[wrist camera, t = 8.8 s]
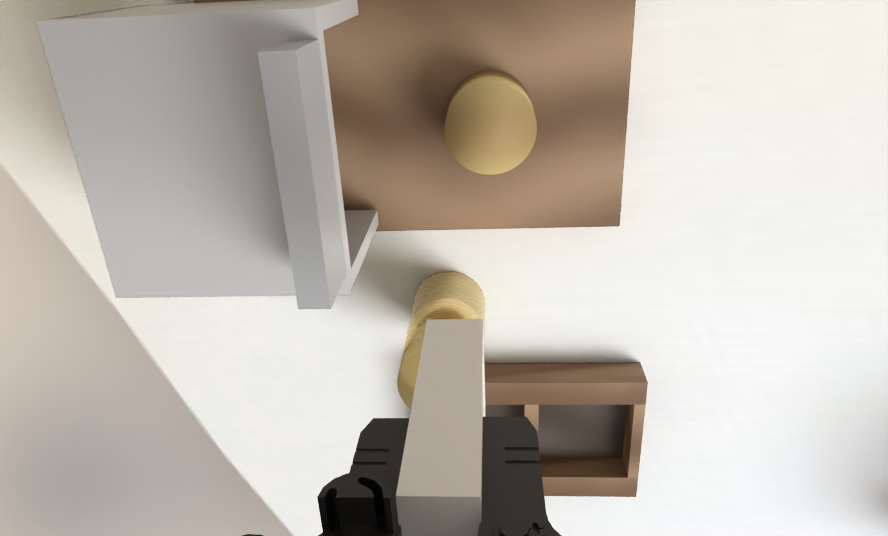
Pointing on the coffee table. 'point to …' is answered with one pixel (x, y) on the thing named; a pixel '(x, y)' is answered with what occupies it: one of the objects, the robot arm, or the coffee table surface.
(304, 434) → the coffee table surface
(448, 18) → the pattern board
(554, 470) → the socket block
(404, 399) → the peg
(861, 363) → the coffee table surface
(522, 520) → the robot arm
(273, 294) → the cover
